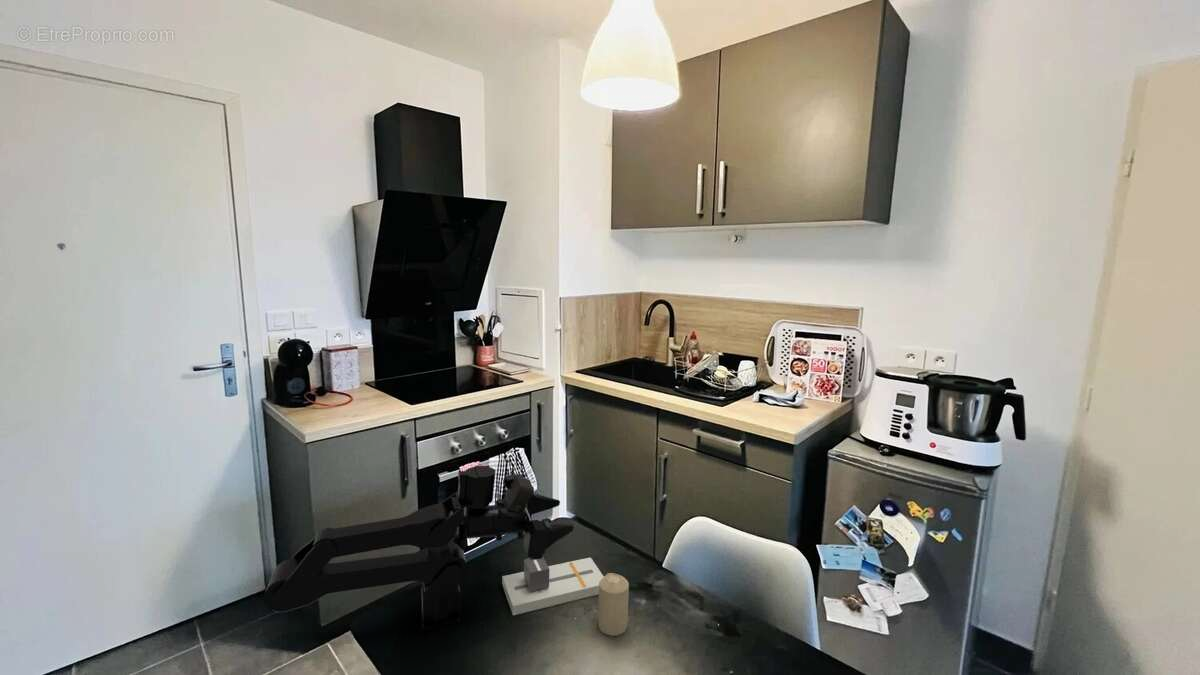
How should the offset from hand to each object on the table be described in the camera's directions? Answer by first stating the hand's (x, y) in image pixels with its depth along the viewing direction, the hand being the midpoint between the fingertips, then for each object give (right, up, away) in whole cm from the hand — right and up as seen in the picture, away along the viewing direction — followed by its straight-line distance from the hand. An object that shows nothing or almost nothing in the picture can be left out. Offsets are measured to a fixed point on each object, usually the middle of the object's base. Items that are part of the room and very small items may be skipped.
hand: (566, 514), depth 102 cm
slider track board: (-2, -16, +1) cm, 16 cm away
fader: (-6, -14, -1) cm, 15 cm away
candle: (+9, -18, -9) cm, 22 cm away
